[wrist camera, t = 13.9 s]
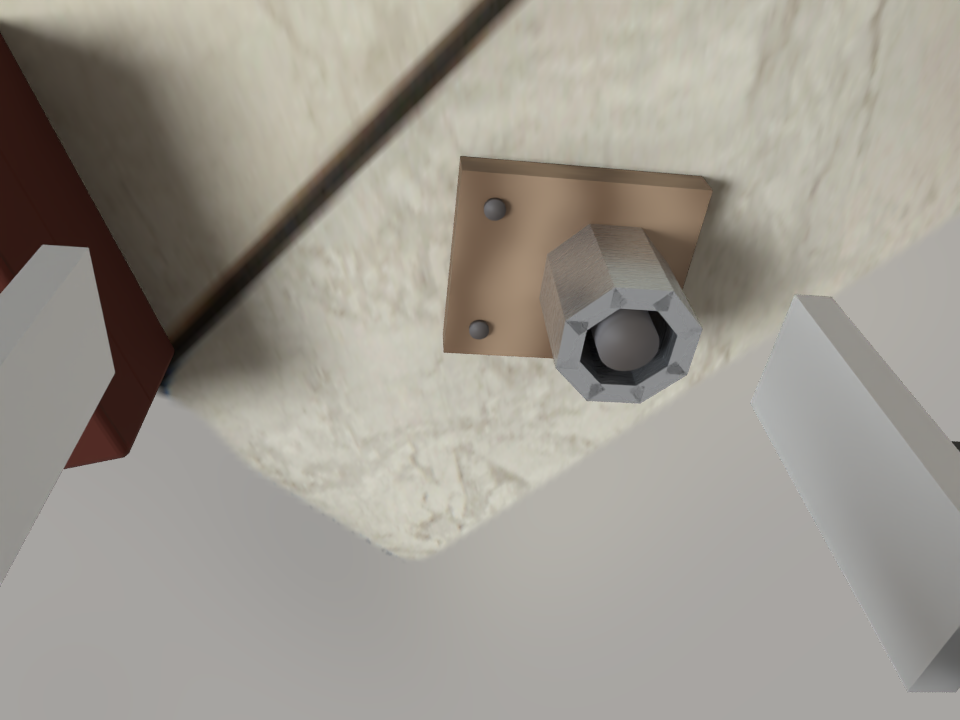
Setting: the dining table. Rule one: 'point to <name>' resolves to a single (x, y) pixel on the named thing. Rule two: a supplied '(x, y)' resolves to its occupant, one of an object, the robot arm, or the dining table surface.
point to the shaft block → (539, 230)
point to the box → (76, 223)
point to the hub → (600, 292)
